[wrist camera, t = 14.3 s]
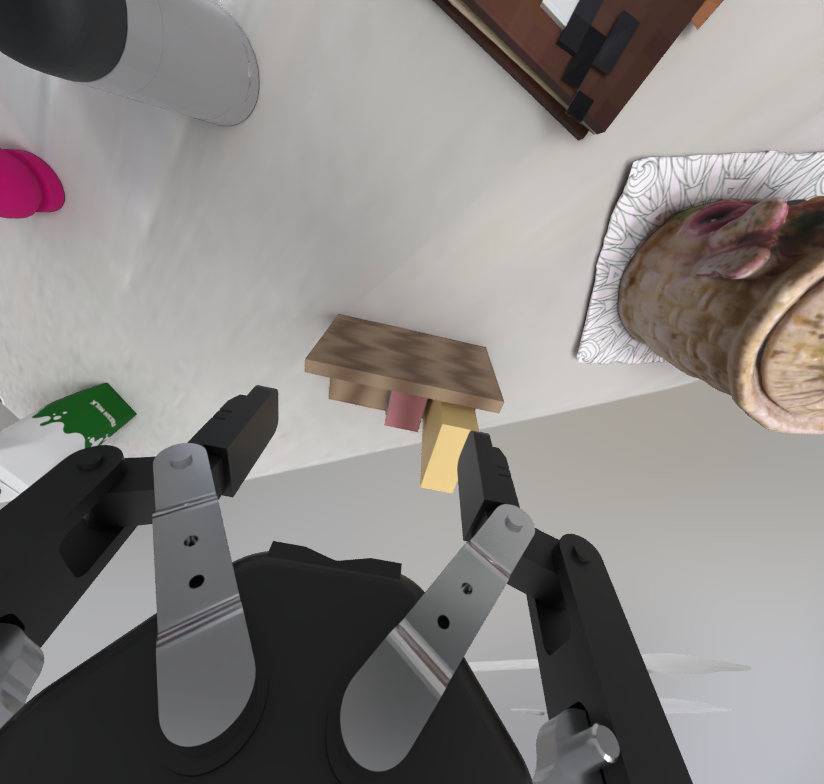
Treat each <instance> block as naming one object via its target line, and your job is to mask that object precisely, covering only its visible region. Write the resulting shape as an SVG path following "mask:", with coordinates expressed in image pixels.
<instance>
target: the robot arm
mask: <svg viewBox="0 0 824 784" xmlns="http://www.w3.org/2000/svg"><path fill="white" fill-rule="evenodd" d="M0 51H1V52H2V53H4V54H5V55H7V56H8V57H10V58H12V59H14V60H16V61H18V62H19V63H21V64H23V65H25V66H28V67H30V68H32V69H35V70H38V71H40V72H43V73H46V74H49V75H53V76H56V77H59V78H63V79H66V80H70V81H73V82H76V83H80V84H83V85H86V86H90V87H93V88H97V89H100V90H103V91H107V92H111V93H114V94H117V95H121V96H124V97H127V98H131V99H134V100H138V101H141V102H144V103H148V104H151V105H154V106H158V107H161V108H164V109H168V110H171V111H174V112H178V113H181V114H184V115H188V116H191V117H194V118H197V119H200V120H204V121H207V122H211V123H214V124H218V125H222V126H232V125H236V124H239V123H240V122H242V121H244V120H245V119H246V118H247V117H248V116H249V115H250V113H251V112H252V110H253V108H254V106H255V104H256V101H257V97H258V92H259V75H258V67H257V63H256V59H255V55H254V52H253V50H252V48H251V45H250V43H249V41H248V39H247V37H246V36H245V34H244V32H243V30H242V29H241V28H240V26H239V25H238V24H237V23H236V22H235V20H234V19H233V18H232V17H231V16H230V15H228V14H227V13H226V12H225V11H224V10H223V9H222V8H220V7H219V6H218V5H217V4H216V3H215V2H214V1H212V0H0ZM277 425H278V390H277V389H274V388H269V387H264V386H259V385H257V386H255V387H254V388H253V389H252V390H251V392H250V393H249V394H248V395H247V396H245V395H238V396H236V397H234V398H232V399H230V400H228V401H227V402H226V403H225V404H224V405H223V406H222V407H221V408H220V411H218V412H217V413H216V414H215V415H214V416H213V418H211V419H210V420H209V421H208V422H207V423H206V424H205V425H204V426H203V427H202V428H201V429H200V430H199V431H198V432H197V433H196V434H195V435H194V436H193V437H192V439H191V440H190V441H189V442H188V443H182V444H177V445H173V446H170V447H168V448H166V449H164V450H163V451H161V452H160V453H159V454H158V455H157V456H156V457H141V458H124V456H123V453H122V451H121V450H120V449H119V448H117V447H114V446H109V445H99V446H92V447H88V448H84V449H81V450H79V451H76V452H74V453H72V454H71V455H69V456H67V457H66V458H65V459H63V460H62V461H61V462H60V463H58V464H57V465H56V466H55V467H53V468H52V469H51V470H50V471H48V472H47V473H46V474H45V475H43V476H42V477H41V478H40V479H38V480H37V481H36V482H35V483H33V484H32V485H31V486H30V487H28V488H27V489H26V490H25V491H23V492H22V493H21V494H20V495H18V496H17V497H16V498H15V499H13V500H12V501H11V502H10V503H8V504H7V505H6V506H5V507H3V508H2V509H1V510H0V784H693V783H692V780H691V778H690V775H689V773H688V770H687V768H686V765H685V763H684V760H683V758H682V755H681V753H680V750H679V748H678V746H677V743H676V741H675V738H674V736H673V733H672V731H671V728H670V726H669V723H668V721H667V718H666V716H665V713H664V711H663V708H662V706H661V703H660V701H659V698H658V696H657V693H656V691H655V689H654V686H653V684H652V681H651V679H650V676H649V674H648V671H647V669H646V666H645V664H644V661H643V659H642V656H641V654H640V652H639V649H638V647H637V644H636V642H635V639H634V637H633V634H632V632H631V629H630V627H629V624H628V622H627V619H626V617H625V614H624V612H623V609H622V607H621V604H620V602H619V599H618V597H617V595H616V592H615V589H614V587H613V585H612V582H611V580H610V577H609V575H608V572H607V570H606V567H605V565H604V562H603V560H602V558H601V556H600V554H599V552H598V551H597V550H596V548H595V547H594V546H593V545H592V544H591V543H589V542H588V541H587V540H586V539H584V538H582V537H580V536H578V535H575V534H566V535H564V536H562V537H561V539H560V540H558V539H556V538H554V537H552V536H550V535H548V534H546V533H544V532H542V531H540V530H538V529H536V528H535V526H534V523H533V521H532V520H531V518H530V517H529V515H528V514H527V513H526V512H524V511H523V510H522V509H520V507H519V503H518V499H517V496H516V492H515V488H514V485H513V481H512V478H511V474H510V471H509V466H508V463H507V459H506V457H505V456H504V454H503V453H502V452H501V450H500V449H499V448H496V447H492V443H491V439H490V435H489V434H488V433H483V432H478V431H473V430H471V431H470V432H469V434H468V436H467V439H466V441H465V444H464V446H463V449H462V451H461V454H460V456H459V460H458V465H457V474H458V485H459V497H460V507H461V520H462V531H463V540H464V541H467V542H466V543H465V544H464V546H463V547H462V548H461V549H460V550H459V552H458V553H457V554H456V556H455V557H454V558H453V559H452V560H451V561H450V563H449V564H448V565H447V566H446V568H445V569H444V570H443V571H442V572H441V574H440V575H439V576H438V577H437V579H436V580H435V581H434V582H433V584H432V585H431V586H430V587H429V588H428V590H427V591H426V592H424V591H423V590H422V589H421V588H420V587H419V586H418V585H417V584H416V583H415V582H413V581H412V580H410V579H409V578H407V577H406V576H404V575H402V574H401V565H402V564H401V563H395V562H390V561H384V560H378V559H372V558H367V559H355V560H343V561H335V560H333V559H331V558H328V557H326V556H324V555H322V554H320V553H318V552H316V551H314V550H311V549H309V548H307V547H304V546H298V545H293V544H287V543H281V542H276V541H273V543H272V545H271V547H270V550H269V551H267V552H260V553H255V554H252V555H248V556H245V557H243V558H241V559H238V560H236V561H234V562H232V560H231V556H230V551H229V546H228V542H227V538H226V533H225V529H224V525H223V519H222V515H221V510H220V506H219V501H218V500H219V498H220V497H221V495H223V496H229V497H234V495H235V494H236V492H237V491H238V489H239V487H240V486H241V484H242V483H243V481H244V480H245V478H246V477H247V475H248V474H249V472H250V470H251V469H252V467H253V466H254V464H255V463H256V461H257V460H258V458H259V457H260V455H261V453H262V452H263V450H264V449H265V447H266V446H267V444H268V443H269V441H270V440H271V438H272V436H273V435H274V433H275V431H276V428H277ZM146 524H153V543H154V564H155V583H156V604H157V613H156V614H154V615H153V616H151V617H150V618H148V619H147V620H145V621H144V622H143V623H141V624H140V625H138V626H137V627H135V628H134V629H132V630H131V631H129V632H128V633H126V634H125V635H123V636H122V637H120V638H119V639H117V640H116V641H114V642H113V643H111V644H110V645H108V646H107V647H105V648H104V649H102V650H101V651H100V652H98V653H97V654H95V655H94V656H92V657H91V658H89V659H88V660H86V661H85V662H83V663H82V664H80V665H79V666H77V667H76V668H74V669H73V670H71V671H70V672H68V673H67V674H66V675H64V676H62V677H61V678H60V679H58V680H57V681H55V682H54V683H52V684H51V685H49V686H48V687H46V688H45V689H44V690H42V691H41V692H40V693H38V694H37V695H36V696H34V697H33V698H32V699H31V700H29V701H28V702H27V703H26V704H25V702H26V699H27V696H28V695H29V693H30V691H31V689H32V686H33V685H34V683H35V681H36V680H37V678H38V677H39V675H40V673H41V670H42V668H43V664H44V654H43V652H42V650H41V649H40V648H41V647H42V645H43V644H44V643H45V642H46V640H47V639H48V638H49V637H50V635H51V634H52V633H53V631H54V630H55V629H56V628H57V626H58V625H59V624H60V623H61V621H62V620H63V619H64V618H65V616H66V615H67V614H68V613H69V611H70V610H71V609H72V608H73V606H74V605H75V604H76V603H77V601H78V600H79V599H80V598H81V596H82V595H83V594H84V593H85V591H86V590H87V589H88V588H89V586H90V585H91V584H92V582H93V581H94V580H95V579H96V577H97V576H98V575H99V574H100V572H101V571H102V570H103V569H104V567H105V566H106V565H107V564H108V562H109V561H110V560H111V558H112V557H113V556H114V555H115V553H116V552H117V551H118V550H119V548H120V547H121V546H122V545H123V543H124V542H125V541H126V539H127V538H128V537H129V536H130V534H131V533H132V532H133V531H134V530H135V528H136V527H137V526H138V525H146ZM506 584H508V585H510V586H512V587H514V588H516V589H518V590H519V591H521V592H523V593H525V594H526V595H527V601H528V606H529V611H530V617H531V623H532V629H533V634H534V639H535V645H536V651H537V657H538V662H539V668H540V674H541V679H542V684H543V690H544V696H545V702H546V707H547V713H548V718H549V721H548V722H546V723H545V724H543V725H542V727H541V728H540V730H539V732H538V735H537V741H536V753H537V763H536V770H535V774H534V777H533V779H532V778H531V776H530V773H529V771H528V768H527V766H526V764H525V761H524V759H523V758H522V755H521V754H520V752H519V750H518V748H517V747H516V745H515V743H514V742H513V740H512V738H511V736H510V735H509V733H508V731H507V730H506V728H505V726H504V724H503V723H502V721H501V719H500V718H499V716H498V714H497V713H496V711H495V709H494V707H493V706H492V704H491V702H490V701H489V699H488V697H487V695H486V694H485V692H484V690H483V689H482V687H481V685H480V683H479V682H478V680H477V679H476V677H475V675H474V673H473V671H472V670H471V668H470V666H469V665H468V663H467V661H466V659H465V658H464V655H465V654H466V652H467V650H468V649H469V647H470V645H471V643H472V642H473V640H474V638H475V637H476V635H477V633H478V632H479V630H480V628H481V626H482V625H483V623H484V621H485V620H486V618H487V616H488V615H489V613H490V611H491V609H492V607H493V606H494V604H495V603H496V601H497V599H498V598H499V596H500V594H501V592H502V591H503V589H504V587H505V586H506Z"/></svg>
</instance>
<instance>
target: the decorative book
mask: <svg viewBox="0 0 824 784" xmlns="http://www.w3.org/2000/svg"><path fill="white" fill-rule="evenodd" d="M433 1H434V2H435V3H436V4H437V5H438V6H439V7H440V8H441V9H442V10H443V11H444V12H446V13H447V14H448V15H449V16H450V17H451V18H452V19H453V20H454V21H455V22H456V23H457V24H458V25H459V26H460V27H461V28H462V29H463V30H464V31H465V32H466V33H467V34H468V35H469V36H470V37H471V38H472V39H474V40H475V41H476V42H477V43H478V44H479V45H480V46H481V47H482V48H483V49H484V50H485V51H486V52H487V53H488V54H489V55H490V56H491V57H492V58H493V59H494V60H495V61H496V62H497V63H498V64H499V65H501V66H502V67H503V68H504V69H505V70H506V71H507V72H508V73H509V74H510V75H511V76H512V77H513V78H514V79H515V80H516V81H517V82H518V83H519V84H520V85H521V86H522V87H523V88H524V89H525V90H526V91H528V92H529V93H530V94H531V95H532V96H533V97H534V98H535V99H536V100H537V101H538V102H539V103H540V104H541V105H542V106H543V107H544V108H545V109H546V110H547V111H548V112H549V113H550V114H551V115H552V116H553V117H555V118H556V119H557V120H558V121H559V122H560V123H561V124H562V125H563V126H564V127H565V128H566V129H567V130H568V131H569V132H570V133H571V134H572V135H573V136H574V137H575V138H576V139H577V140H581V139H583V138H584V137H585V135H586V134H587V133H588V131H590V132H592V133H593V134H594V135H595V134H599V133H603V132H605V131H606V129H607V128H608V127H609V126H610V124H611V123H612V122H613V120H614V119H615V118H616V116H617V115H618V114H619V113H620V111H621V110H622V109H623V107H624V106H625V105H626V103H627V102H628V101H629V100H630V98H631V97H632V96H633V94H634V93H635V92H636V90H637V89H638V88H639V87H640V85H641V84H642V83H643V81H644V80H645V79H646V77H647V76H648V75H649V74H650V72H651V71H652V70H653V68H654V67H655V66H656V64H657V63H658V62H659V61H660V59H661V58H662V57H663V55H664V54H665V53H666V51H667V50H668V49H669V48H670V46H671V45H672V44H673V42H674V41H675V40H676V38H677V37H678V36H679V35H680V33H681V32H682V31H683V29H684V28H685V27H686V25H687V24H688V23H689V22H690V20H692V21H693V23H694V25H695V26H696V28H697V30H698V29H699V28H700V27H701V25H702V24H703V23H704V22H705V21H706V20H707V19H708V17H709V16H710V15H711V14H712V13H713V12H714V11H715V9H716V8H717V7H718V6H719V5H720V4H721V3H722V2H723V0H433Z"/></svg>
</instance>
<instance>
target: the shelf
mask: <svg viewBox="0 0 824 784" xmlns="http://www.w3.org/2000/svg"><path fill="white" fill-rule="evenodd" d="M305 372H307V373H312V374H316V375H321V376H326V377H330V389H329V399H332V400H336V401H341V402H346V403H351V404H356V405H361V406H365V407H370V408H375V409H380V410H385V411H386V413H385V414H386V419H385V424H384V425H386V426H391V427H396V428H401V429H405V430H410V431H415V432H418V429H419V426H420V422H421V419H422V418H423V412H424V409H425V405H426V402H427V399H428V398H429V399H434V400H438V401H443V402H448V403H453V404H457V405H462V406H467V407H471V408H475V409H481V410H485V411H490V412H495V413H499V412H500V410H501V408H502V406H503V404H504V400H503V397H502V394H501V391H500V388H499V385H498V382H497V379H496V376H495V373H494V370H493V367H492V364H491V361H490V358H489V355H488V352H487V349H486V347H482V346H477V345H473V344H468V343H464V342H460V341H455V340H451V339H446V338H442V337H437V336H433V335H429V334H424V333H420V332H415V331H411V330H407V329H402V328H398V327H393V326H389V325H385V324H380V323H376V322H371V321H367V320H362V319H358V318H354V317H349V316H345V315H340V314H339V315H338V316H337V317H336V319H335V320H334V321H333V323H332V324H331V325H330V327H329V328H328V329H327V331H326V332H325V333H324V335H323V336H322V337H321V339H320V340H319V341H318V343H317V344H316V345H315V347H314V348H313V349H312V351H311V352H310V353H309V355H308V356H307V357H306V359H305Z"/></svg>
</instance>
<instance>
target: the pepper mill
mask: <svg viewBox="0 0 824 784" xmlns="http://www.w3.org/2000/svg"><path fill="white" fill-rule="evenodd" d="M63 203H64V191H63V187H62V185H61V183H60V181H59V179H58V177H57V176H56V174H55V173H54V172H53V170H52V169H51V168H50V167H49V166H48V165H47V164H46V163H45V162H44V161H43V160H41V159H40V158H38V157H37V156H35V155H33V154H31V153H29V152H26V151H21V150H9V149H1V148H0V217H3V218H26V217H29V216H31V215H33V214H34V213H35V212H52V211H57V210H59V209H60V208H61V207H62V205H63Z"/></svg>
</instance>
